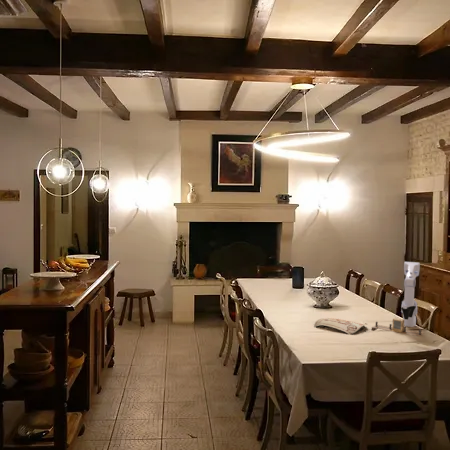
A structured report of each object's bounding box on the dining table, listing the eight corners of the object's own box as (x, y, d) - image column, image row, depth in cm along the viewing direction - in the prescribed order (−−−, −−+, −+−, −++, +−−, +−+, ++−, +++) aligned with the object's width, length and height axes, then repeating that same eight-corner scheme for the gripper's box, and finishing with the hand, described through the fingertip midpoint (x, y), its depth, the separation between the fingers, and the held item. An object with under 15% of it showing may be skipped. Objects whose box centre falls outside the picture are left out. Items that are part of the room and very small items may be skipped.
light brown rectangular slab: (394, 328, 326) (395, 317, 326) (403, 330, 322) (404, 319, 322) (392, 329, 323) (392, 319, 322) (401, 331, 319) (402, 320, 319)
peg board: (377, 326, 336) (377, 320, 336) (424, 335, 318) (424, 328, 317) (371, 329, 328) (371, 322, 328) (419, 338, 310) (419, 331, 309)
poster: (371, 332, 335) (329, 322, 354) (372, 323, 335) (330, 313, 354) (352, 337, 313) (309, 327, 332) (353, 327, 313) (310, 317, 332)
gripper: (406, 294, 330) (405, 315, 330) (398, 297, 318) (397, 319, 319) (417, 296, 325) (416, 317, 326) (410, 299, 314) (409, 321, 315)
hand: (408, 318), depth 322 cm, fingers open, 7 cm apart
